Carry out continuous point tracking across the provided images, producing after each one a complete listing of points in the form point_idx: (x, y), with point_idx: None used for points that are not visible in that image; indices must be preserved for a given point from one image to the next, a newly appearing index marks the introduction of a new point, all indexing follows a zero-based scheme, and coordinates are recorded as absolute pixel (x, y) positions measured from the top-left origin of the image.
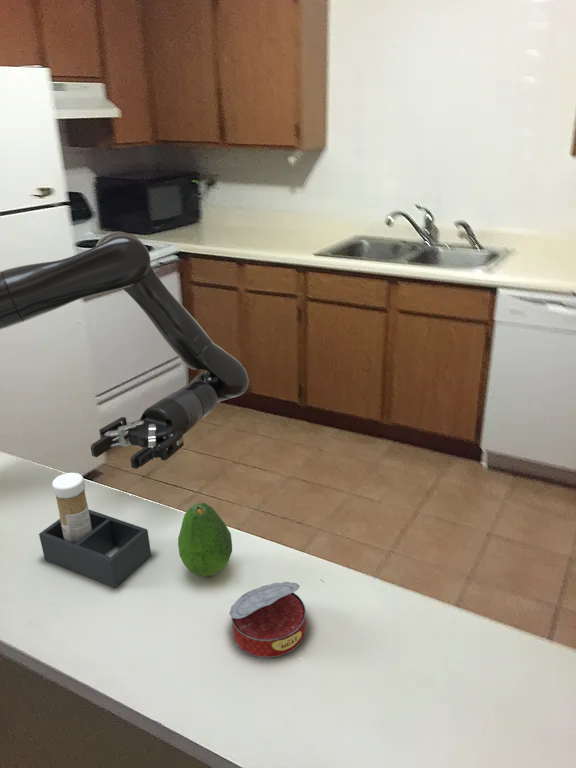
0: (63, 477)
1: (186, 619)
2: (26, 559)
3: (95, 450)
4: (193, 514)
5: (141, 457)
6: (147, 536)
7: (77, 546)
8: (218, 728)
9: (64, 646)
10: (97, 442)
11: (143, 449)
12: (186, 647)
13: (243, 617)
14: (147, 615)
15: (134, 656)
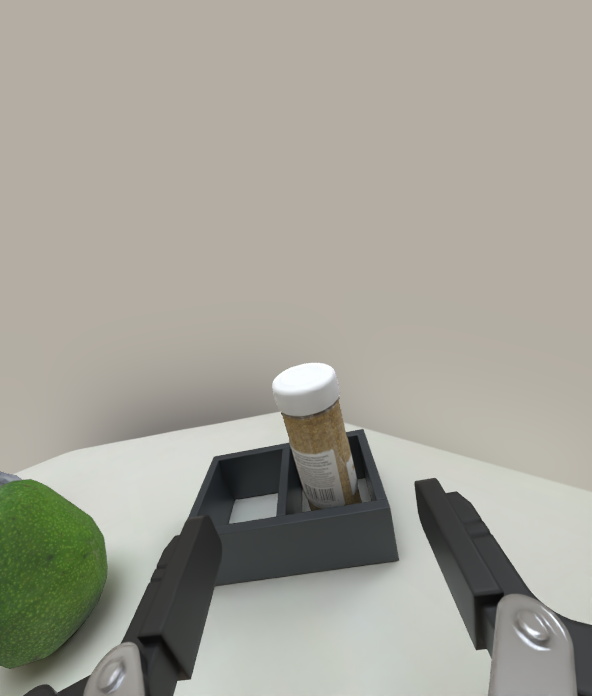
0: (317, 373)
1: (115, 512)
2: (395, 458)
3: (418, 499)
4: (10, 483)
5: (166, 553)
6: None
7: (281, 446)
8: (85, 455)
9: (239, 429)
10: (443, 507)
11: (162, 597)
12: (113, 486)
13: (10, 474)
14: (168, 490)
15: (168, 455)
